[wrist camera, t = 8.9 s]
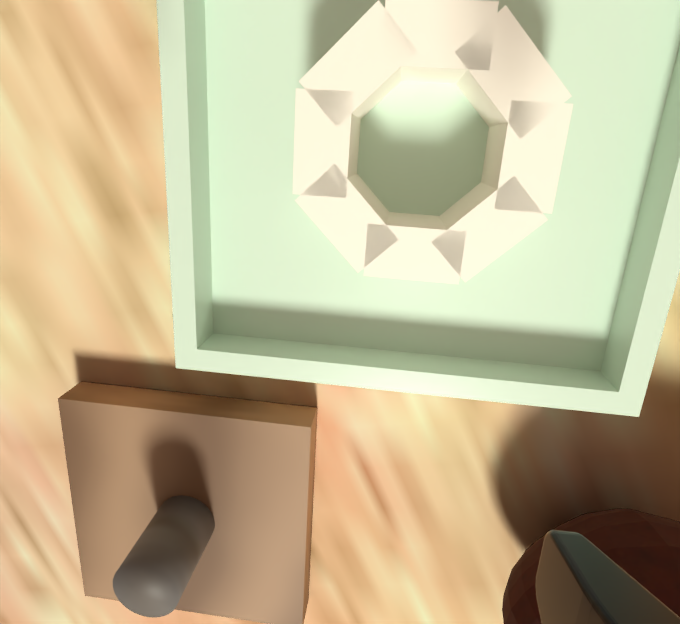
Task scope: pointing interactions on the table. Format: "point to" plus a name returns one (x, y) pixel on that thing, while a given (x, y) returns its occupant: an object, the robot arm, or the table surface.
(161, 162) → the table surface
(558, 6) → the tray
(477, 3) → the ring
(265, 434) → the stake board
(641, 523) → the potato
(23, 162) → the table surface
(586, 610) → the robot arm
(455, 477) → the table surface
